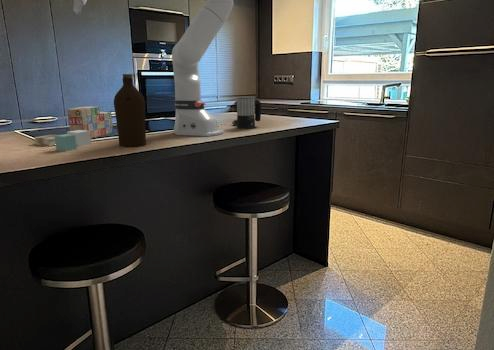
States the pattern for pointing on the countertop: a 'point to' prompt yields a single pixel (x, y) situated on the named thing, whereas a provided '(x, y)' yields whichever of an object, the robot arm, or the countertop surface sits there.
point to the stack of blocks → (90, 120)
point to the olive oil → (130, 114)
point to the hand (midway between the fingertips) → (76, 13)
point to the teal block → (65, 142)
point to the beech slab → (45, 140)
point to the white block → (81, 137)
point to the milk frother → (247, 112)
